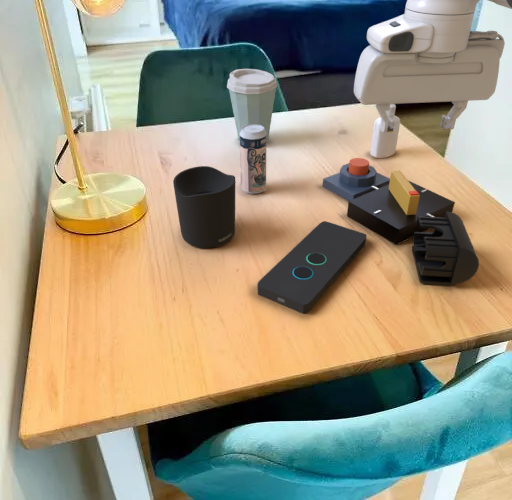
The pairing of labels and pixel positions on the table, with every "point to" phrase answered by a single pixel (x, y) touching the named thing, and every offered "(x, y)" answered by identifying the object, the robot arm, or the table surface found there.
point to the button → (358, 166)
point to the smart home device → (312, 266)
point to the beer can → (253, 158)
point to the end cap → (443, 251)
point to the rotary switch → (395, 212)
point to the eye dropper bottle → (385, 136)
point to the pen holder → (205, 206)
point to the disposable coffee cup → (252, 98)
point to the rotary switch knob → (404, 192)
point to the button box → (354, 183)
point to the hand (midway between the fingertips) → (416, 129)
